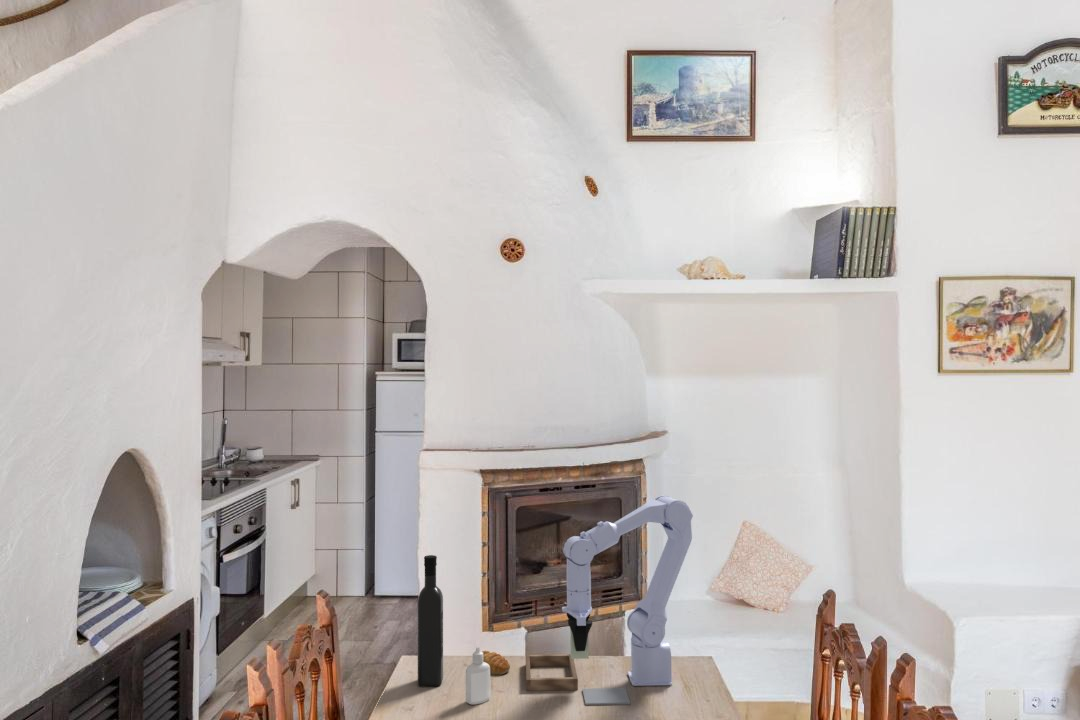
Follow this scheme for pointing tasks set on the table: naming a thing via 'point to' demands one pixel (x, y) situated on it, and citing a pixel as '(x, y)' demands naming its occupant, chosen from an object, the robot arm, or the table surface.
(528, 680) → the box
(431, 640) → the wine bottle
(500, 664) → the pastry
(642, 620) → the robot arm
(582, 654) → the wood block
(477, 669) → the eye dropper bottle
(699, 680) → the table surface
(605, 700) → the mat
